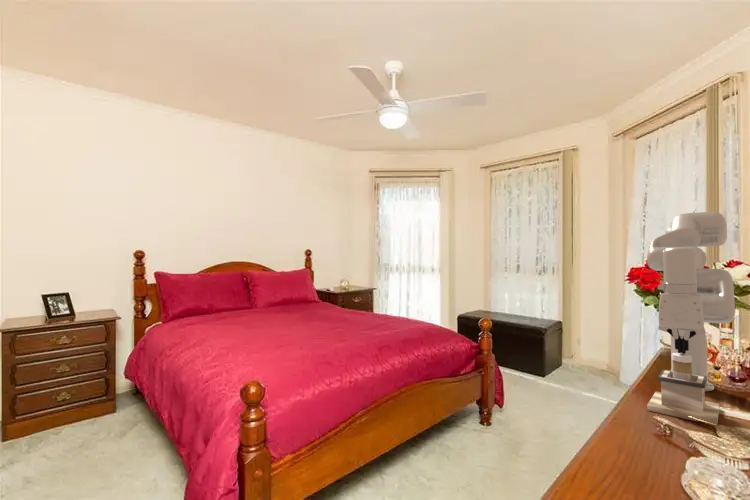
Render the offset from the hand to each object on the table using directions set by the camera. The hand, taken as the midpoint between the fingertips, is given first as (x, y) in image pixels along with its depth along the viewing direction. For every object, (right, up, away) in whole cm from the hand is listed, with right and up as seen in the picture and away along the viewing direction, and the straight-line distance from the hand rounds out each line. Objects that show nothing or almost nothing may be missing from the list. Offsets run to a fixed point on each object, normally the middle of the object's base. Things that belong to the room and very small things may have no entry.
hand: (681, 352), depth 110 cm
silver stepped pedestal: (0, -16, -1) cm, 16 cm away
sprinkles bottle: (0, -14, 0) cm, 14 cm away
